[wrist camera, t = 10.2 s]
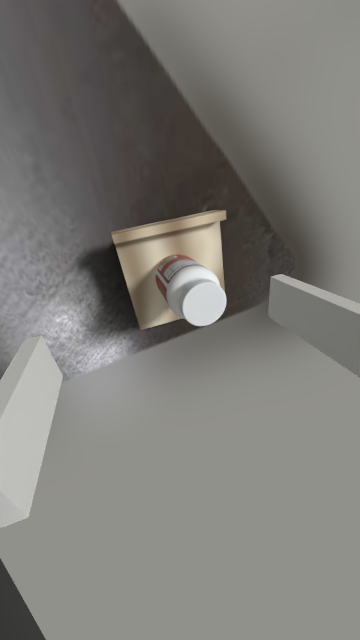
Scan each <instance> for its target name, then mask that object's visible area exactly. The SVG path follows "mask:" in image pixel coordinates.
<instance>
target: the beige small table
mask: <svg viewBox="0 0 360 640" xmlns="http://www.w3.org/2000/svg"><path fill="white" fill-rule="evenodd" d="M221 220H226V211H223V210H213V211H209V212H204V213H199V214H194V215H190V216H185V217H180V218H175V219H170V220H166V221H161V222H156V223H151V224H147V225H142V226H137V227H132V228H128V229H123V230H118V231H113V232H111V233H112V238H113V241H114V244H115V246H116V250H117V253H118V257H119V260H120V263H121V267H122V270H123V273H124V277H125V280H126V283H127V287H128V290H129V293H130V297H131V300H132V303H133V307H134V310H135V313H136V317H137V320H138V323H139V327H140V330H143V329H146V328H150V327H153V326H157V325H160V324H164V323H167V322H171V321H174V320H178V319H181V317H179V316H177V315H176V314H175V313H174V312H173V311H172V309H171V308H170V307H169V305H168V303H167V302H166V300H165V299H164V297H163V295H162V294H161V292H160V290H159V289H158V287H157V284H156V280H155V273H156V269H157V267H158V265H159V263H160V262H161V261H162V260H163V259H164V258H166V257H167V256H170V255H173V254H183V255H186V256H188V257H190V258H192V259H193V260H195V261H196V262H198V263H200V264H201V265H203V266H204V267H206V268H208V269H209V270H210V271H212V272H213V273H214V274H215V275H216V277H217V278H218V280H219V283H220V287H221V288H222V289H223V291H224V292H225V290H224V276H223V262H222V248H221V233H220V221H221Z"/></svg>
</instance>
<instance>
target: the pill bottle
mask: <svg viewBox="0 0 360 640" xmlns="http://www.w3.org/2000/svg"><path fill="white" fill-rule="evenodd" d="M155 280H156V284H157V287H158V289H159V290H160V292H161V294H162V295H163V297H164V299H165V300H166V302H167V303H168V305H169V307H170V308H171V309H172V311H173V312H174V313H175V314H176V315H177V316H179V317H181V318H183V319H186V320H187V321H188V322H189V323H191V324H193V325H196V326H206V325H209V324H211V323H213V322H215V321H216V320H217V319H218V318H219V317H220V316H221V315H222V313H223V312H224V309H225V306H226V295H225V292H224V291H223V289H222V288H221V287H220V283H219V280H218V278H217V277H216V275H215V274H214V273H213V272H212V271H210V270H209V269H208V268H206V267H204V266H203V265H201V264H200V263H198V262H196V261H195V260H193V259H192V258H190V257H188V256H186V255H183V254H173V255H170V256H167V257H166V258H164V259H163V260H162V261H161V262H160V263H159V265H158V267H157V269H156V273H155Z"/></svg>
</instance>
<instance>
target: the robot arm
mask: <svg viewBox="0 0 360 640" xmlns="http://www.w3.org/2000/svg"><path fill="white" fill-rule="evenodd" d="M268 316H269V317H270V318H272V319H273V320H275V321H276V322H278V323H279V324H281V325H282V326H284V327H285V328H287V329H288V330H290V331H291V332H293V333H294V334H296V335H297V336H299V337H300V338H301V339H303V340H304V341H306V342H308V343H309V344H310V345H312V346H313V347H315V348H317V349H318V350H320V351H321V352H322V353H324V354H326V355H327V356H328V357H330V358H332V359H333V360H334V361H336V362H337V363H339V364H340V365H342V366H343V367H345V368H347V369H348V370H349V371H351V372H352V373H354V374H355V375H357V376H358V377H360V304H359V303H357V302H354V301H351V300H348V299H346V298H343V297H340V296H338V295H335V294H333V293H330V292H327V291H324V290H322V289H319V288H317V287H314V286H312V285H309V284H306V283H304V282H301V281H298V280H296V279H293V278H290V277H288V276H285V275H283V274H280V275H276V276H272V277H271V281H270V298H269V315H268ZM62 378H63V375H62V373H61V372H60V370H59V368H58V366H57V364H56V362H55V360H54V358H53V356H52V355H51V353H50V351H49V349H48V347H47V345H46V343H45V341H44V339H43V337H42V336H41V335H40V336H36V337H32V338H29V339H25V340H24V342H23V343H22V345H21V347H20V348H19V350H18V352H17V353H16V355H15V357H14V358H13V360H12V362H11V363H10V365H9V367H8V368H7V370H6V371H5V373H4V375H3V376H2V378H1V380H0V528H2V527H5V526H7V525H10V524H12V523H15V522H17V521H20V520H22V519H25V518H28V517H29V513H30V509H31V504H32V501H33V496H34V492H35V488H36V484H37V480H38V476H39V472H40V468H41V464H42V460H43V456H44V452H45V448H46V443H47V439H48V435H49V431H50V427H51V423H52V419H53V415H54V411H55V407H56V403H57V399H58V394H59V390H60V386H61V382H62ZM0 640H46V639H45V638H44V636H43V634H42V632H41V630H40V629H39V627H38V625H37V623H36V622H35V620H34V618H33V616H32V614H31V612H30V611H29V609H28V607H27V605H26V604H25V602H24V600H23V598H22V596H21V595H20V593H19V591H18V589H17V587H16V586H15V584H14V582H13V581H12V578H11V577H10V575H9V573H8V571H7V570H6V568H5V566H4V564H3V562H2V561H1V559H0Z"/></svg>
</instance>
